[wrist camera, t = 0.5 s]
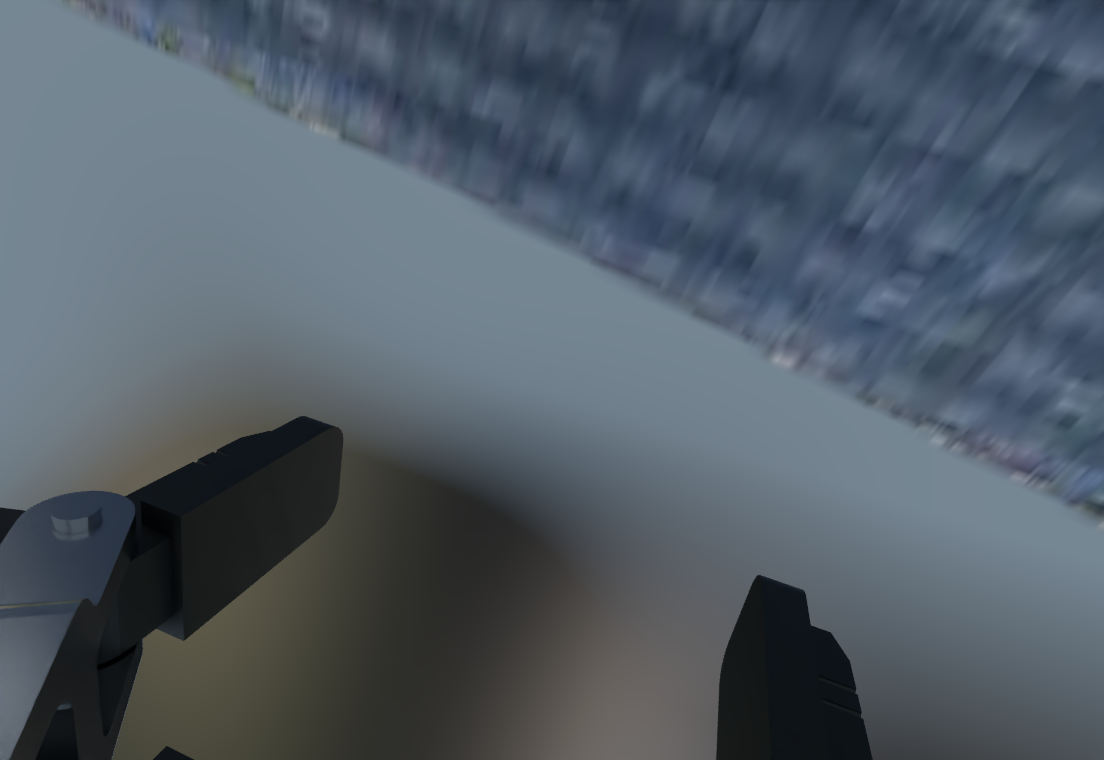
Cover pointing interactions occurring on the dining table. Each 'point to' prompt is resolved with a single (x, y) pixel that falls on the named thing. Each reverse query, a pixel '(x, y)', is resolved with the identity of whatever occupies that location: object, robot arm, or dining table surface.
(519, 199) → the dining table surface
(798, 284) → the dining table surface
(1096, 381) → the dining table surface
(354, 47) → the dining table surface
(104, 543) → the robot arm
